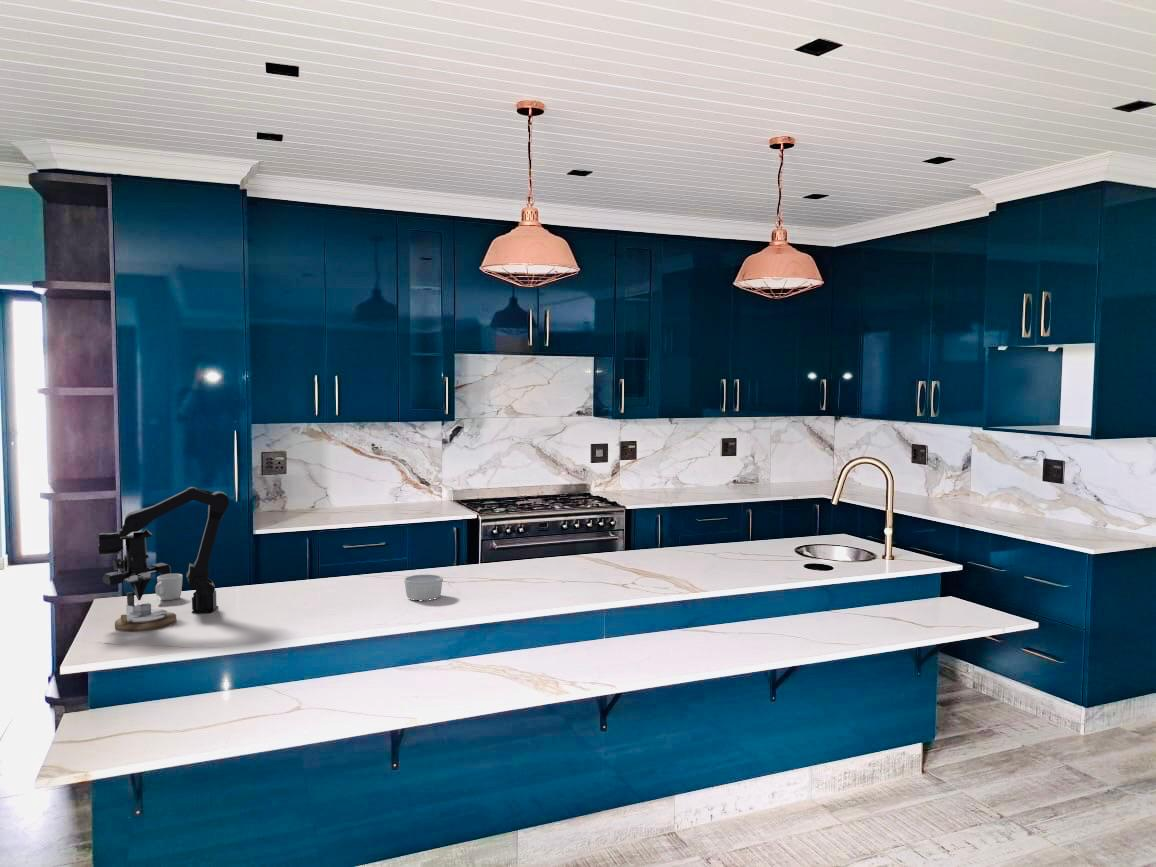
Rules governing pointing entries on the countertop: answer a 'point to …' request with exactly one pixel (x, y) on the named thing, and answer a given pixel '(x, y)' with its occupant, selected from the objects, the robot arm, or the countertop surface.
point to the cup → (169, 586)
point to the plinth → (144, 624)
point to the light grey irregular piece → (142, 611)
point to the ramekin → (423, 586)
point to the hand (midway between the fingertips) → (139, 600)
